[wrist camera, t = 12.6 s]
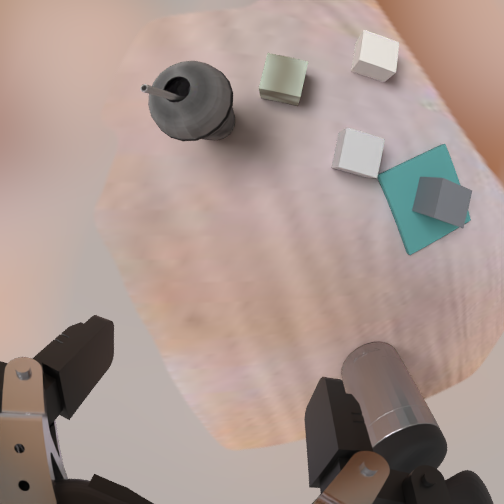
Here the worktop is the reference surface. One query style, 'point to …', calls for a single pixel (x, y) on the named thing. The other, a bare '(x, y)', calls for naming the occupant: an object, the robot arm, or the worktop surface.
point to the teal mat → (404, 191)
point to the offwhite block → (375, 56)
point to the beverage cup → (192, 102)
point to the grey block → (358, 153)
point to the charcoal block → (442, 200)
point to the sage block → (282, 79)
